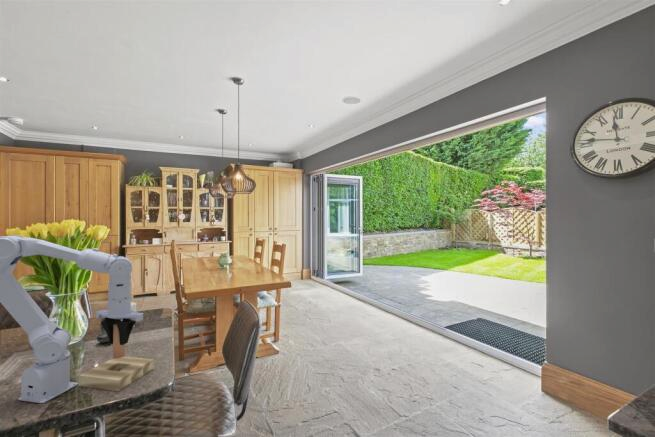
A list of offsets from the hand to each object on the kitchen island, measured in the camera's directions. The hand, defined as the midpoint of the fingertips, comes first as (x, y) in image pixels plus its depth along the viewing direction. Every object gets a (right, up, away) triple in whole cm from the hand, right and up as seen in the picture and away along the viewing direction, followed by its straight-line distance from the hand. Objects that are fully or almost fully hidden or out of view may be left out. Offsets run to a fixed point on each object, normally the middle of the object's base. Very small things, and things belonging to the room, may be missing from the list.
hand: (118, 343), depth 93 cm
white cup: (-25, -10, +42) cm, 50 cm away
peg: (0, -4, 0) cm, 4 cm away
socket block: (0, -10, 0) cm, 10 cm away
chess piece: (-21, -10, +24) cm, 34 cm away
